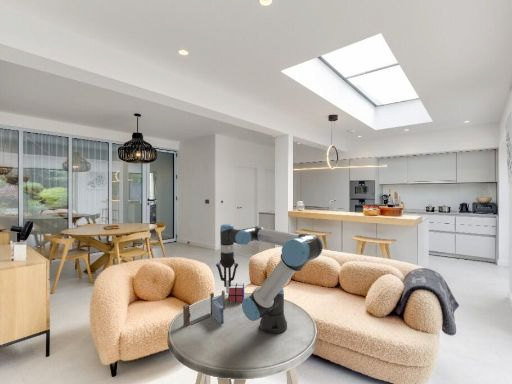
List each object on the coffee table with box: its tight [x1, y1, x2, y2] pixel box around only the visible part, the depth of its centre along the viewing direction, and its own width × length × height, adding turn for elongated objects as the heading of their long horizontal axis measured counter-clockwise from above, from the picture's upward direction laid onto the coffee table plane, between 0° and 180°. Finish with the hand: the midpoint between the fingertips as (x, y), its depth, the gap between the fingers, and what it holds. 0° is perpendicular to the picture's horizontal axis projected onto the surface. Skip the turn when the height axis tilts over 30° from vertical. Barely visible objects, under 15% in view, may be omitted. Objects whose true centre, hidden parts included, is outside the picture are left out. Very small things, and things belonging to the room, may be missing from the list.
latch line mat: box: [190, 312, 213, 326], centre depth 165 cm, size 4×15×1 cm, turn 138°
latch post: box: [182, 303, 191, 328], centre depth 158 cm, size 3×3×12 cm
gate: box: [212, 297, 225, 325], centre depth 164 cm, size 14×2×10 cm, turn 28°
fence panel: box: [214, 290, 226, 311], centre depth 176 cm, size 2×8×12 cm, turn 138°
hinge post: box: [209, 292, 215, 316], centre depth 172 cm, size 2×2×13 cm
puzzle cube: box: [227, 282, 245, 303], centre depth 193 cm, size 10×10×10 cm
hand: (227, 292), depth 161 cm, fingers closed
